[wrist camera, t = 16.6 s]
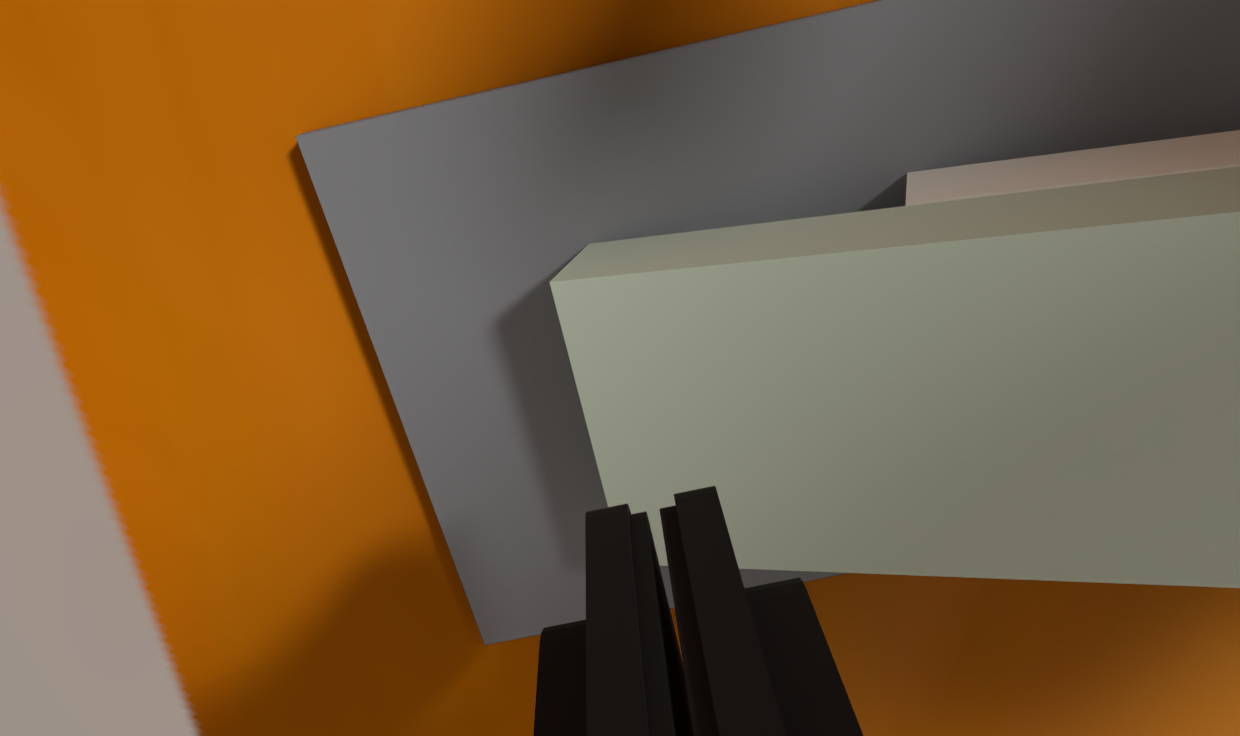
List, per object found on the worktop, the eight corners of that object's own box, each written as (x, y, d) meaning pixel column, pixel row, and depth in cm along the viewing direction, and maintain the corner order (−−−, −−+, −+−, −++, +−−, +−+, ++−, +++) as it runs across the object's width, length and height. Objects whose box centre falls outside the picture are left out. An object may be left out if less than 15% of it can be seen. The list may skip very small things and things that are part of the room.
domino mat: (1735, -198, 13) (1777, -205, 13) (1543, 419, 18) (1568, 430, 18) (304, 132, 14) (295, 136, 14) (487, 630, 19) (484, 645, 19)
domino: (589, 243, 15) (1314, 157, 11) (650, 503, 17) (1261, 509, 13) (549, 282, 13) (1389, 196, 9) (623, 563, 16) (1313, 591, 12)
